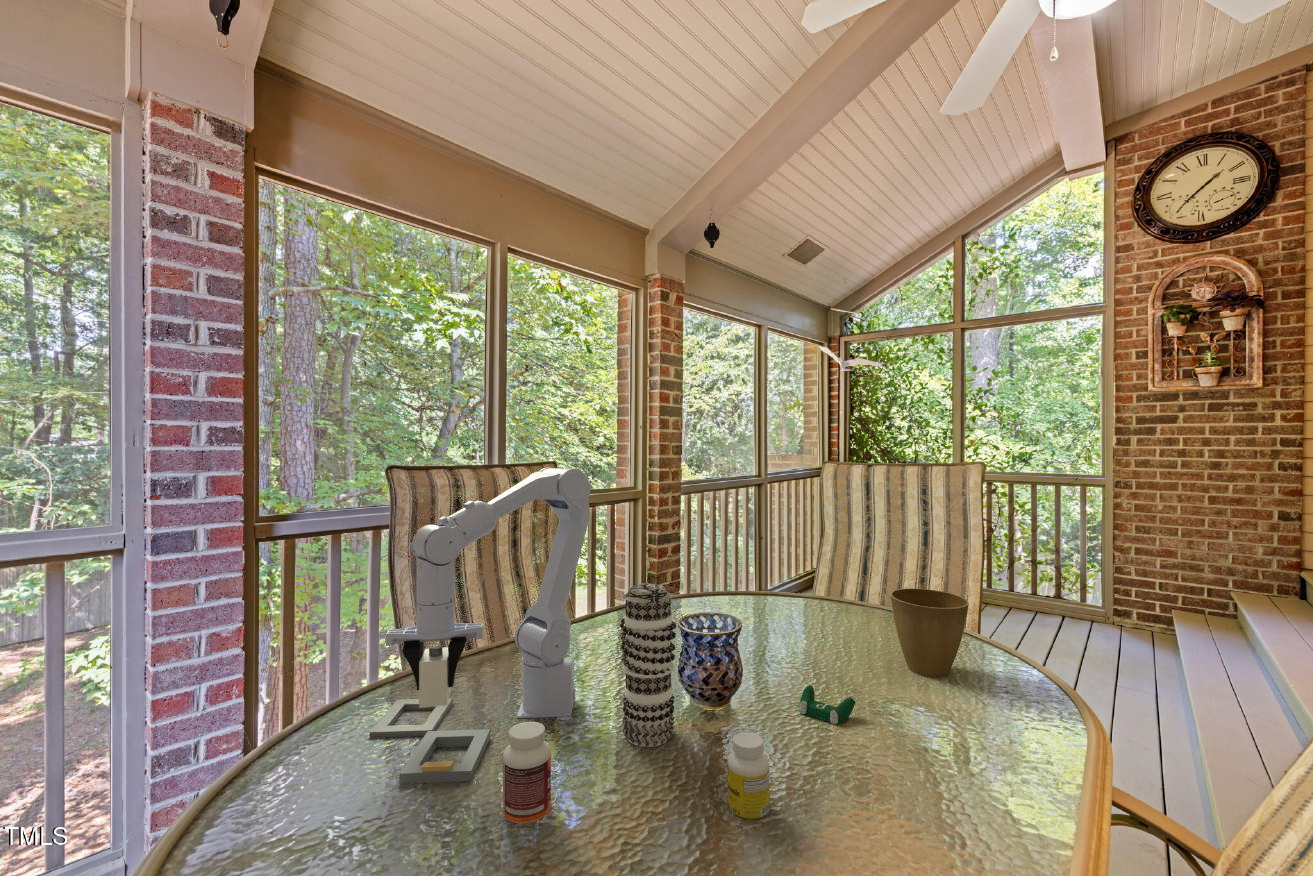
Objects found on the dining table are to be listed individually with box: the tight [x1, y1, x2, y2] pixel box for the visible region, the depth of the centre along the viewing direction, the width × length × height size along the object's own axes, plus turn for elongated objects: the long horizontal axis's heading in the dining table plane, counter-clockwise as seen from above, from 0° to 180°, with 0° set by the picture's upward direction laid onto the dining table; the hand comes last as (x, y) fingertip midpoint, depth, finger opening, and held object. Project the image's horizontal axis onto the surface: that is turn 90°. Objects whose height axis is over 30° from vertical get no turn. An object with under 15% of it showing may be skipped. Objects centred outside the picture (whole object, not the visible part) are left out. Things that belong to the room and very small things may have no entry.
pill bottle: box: [502, 721, 552, 824], centre depth 76 cm, size 6×6×11 cm
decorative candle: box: [619, 582, 677, 748], centre depth 95 cm, size 9×9×25 cm
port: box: [398, 728, 491, 785], centre depth 88 cm, size 10×12×3 cm
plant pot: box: [890, 587, 970, 678], centre depth 122 cm, size 15×15×16 cm
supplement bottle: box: [727, 731, 771, 821], centre depth 76 cm, size 5×5×10 cm
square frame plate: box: [369, 697, 454, 739], centre depth 102 cm, size 10×12×1 cm
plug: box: [418, 645, 452, 708], centre depth 93 cm, size 4×6×8 cm, turn 13°
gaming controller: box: [798, 685, 856, 726], centre depth 102 cm, size 9×4×6 cm
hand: (435, 686), depth 92 cm, fingers closed on plug, 4 cm apart
